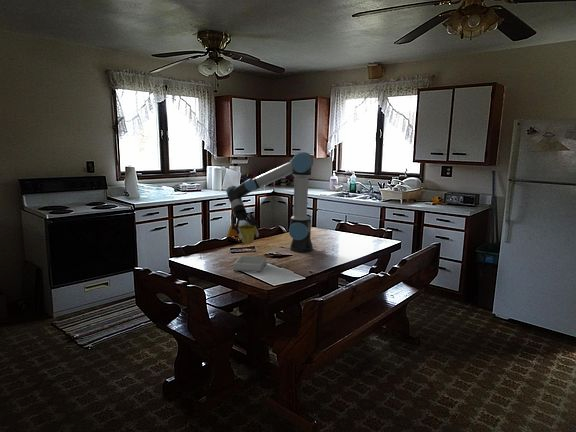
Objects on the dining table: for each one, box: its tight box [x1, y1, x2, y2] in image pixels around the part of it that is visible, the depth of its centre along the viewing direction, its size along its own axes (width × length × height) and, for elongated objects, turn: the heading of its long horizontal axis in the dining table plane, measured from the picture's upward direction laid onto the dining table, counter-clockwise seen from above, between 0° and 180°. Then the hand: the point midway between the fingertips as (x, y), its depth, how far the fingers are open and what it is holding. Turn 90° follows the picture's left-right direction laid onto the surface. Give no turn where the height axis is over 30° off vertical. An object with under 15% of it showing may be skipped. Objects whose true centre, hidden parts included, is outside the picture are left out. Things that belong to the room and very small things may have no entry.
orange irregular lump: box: [226, 223, 242, 242], centre depth 292 cm, size 11×7×12 cm, turn 130°
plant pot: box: [239, 224, 256, 245], centre depth 245 cm, size 10×10×10 cm
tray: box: [232, 255, 267, 273], centre depth 230 cm, size 16×16×4 cm
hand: (249, 236), depth 243 cm, fingers closed on plant pot, 10 cm apart
